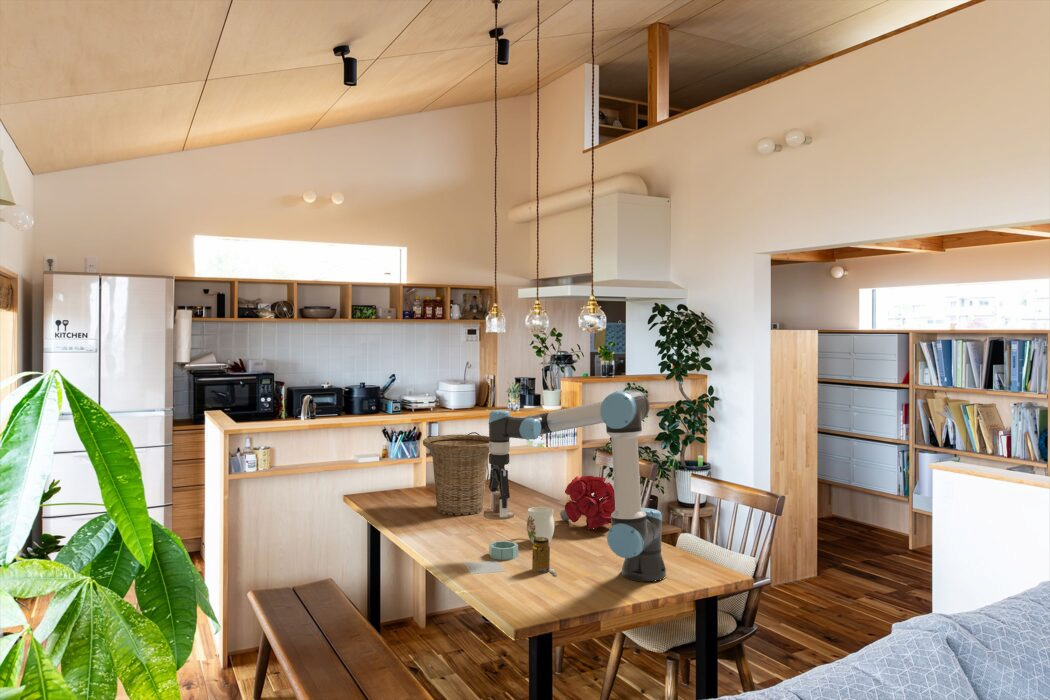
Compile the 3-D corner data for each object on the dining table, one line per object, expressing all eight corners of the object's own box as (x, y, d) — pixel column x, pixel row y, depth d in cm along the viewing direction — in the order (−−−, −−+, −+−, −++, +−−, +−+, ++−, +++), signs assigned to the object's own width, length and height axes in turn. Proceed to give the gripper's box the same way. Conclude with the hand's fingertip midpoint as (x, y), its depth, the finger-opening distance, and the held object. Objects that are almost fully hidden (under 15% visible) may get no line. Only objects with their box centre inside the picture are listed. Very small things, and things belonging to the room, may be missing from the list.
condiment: (530, 570, 257) (530, 536, 257) (554, 569, 258) (554, 535, 257) (532, 576, 250) (532, 542, 249) (557, 576, 250) (557, 541, 250)
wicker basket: (469, 523, 318) (470, 447, 317) (406, 513, 335) (407, 441, 334) (511, 507, 348) (511, 438, 347) (451, 498, 366) (451, 432, 365)
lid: (517, 518, 262) (517, 496, 262) (488, 520, 259) (488, 498, 258) (508, 511, 273) (508, 490, 272) (480, 513, 269) (480, 491, 269)
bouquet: (553, 543, 313) (600, 520, 294) (538, 490, 322) (582, 465, 303) (588, 537, 327) (635, 515, 308) (572, 487, 336) (617, 463, 317)
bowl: (520, 561, 267) (520, 547, 267) (493, 563, 264) (493, 549, 264) (512, 553, 276) (512, 540, 276) (487, 555, 273) (487, 542, 273)
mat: (505, 573, 253) (505, 571, 253) (471, 576, 249) (471, 574, 249) (496, 562, 264) (496, 560, 264) (463, 565, 261) (464, 563, 261)
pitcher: (538, 534, 301) (538, 501, 301) (563, 545, 286) (563, 511, 286) (515, 538, 296) (516, 504, 295) (539, 549, 280) (540, 514, 280)
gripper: (480, 448, 275) (480, 506, 275) (498, 458, 253) (498, 521, 253) (499, 447, 277) (499, 505, 278) (519, 457, 255) (518, 520, 256)
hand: (498, 513), depth 266 cm, fingers closed on lid, 11 cm apart
